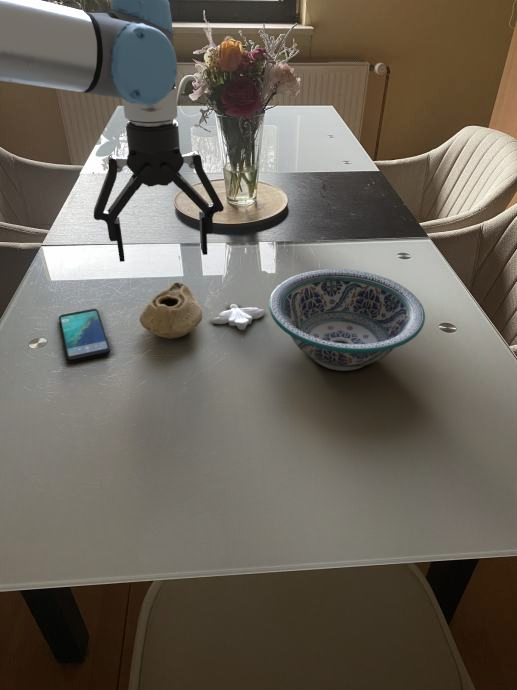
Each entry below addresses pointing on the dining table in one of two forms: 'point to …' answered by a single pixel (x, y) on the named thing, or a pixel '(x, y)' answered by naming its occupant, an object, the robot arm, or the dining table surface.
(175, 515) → the dining table surface
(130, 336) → the dining table surface
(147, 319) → the oil lamp
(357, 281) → the bowl
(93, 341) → the smartphone
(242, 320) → the acanthus leaf ornament
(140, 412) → the dining table surface
